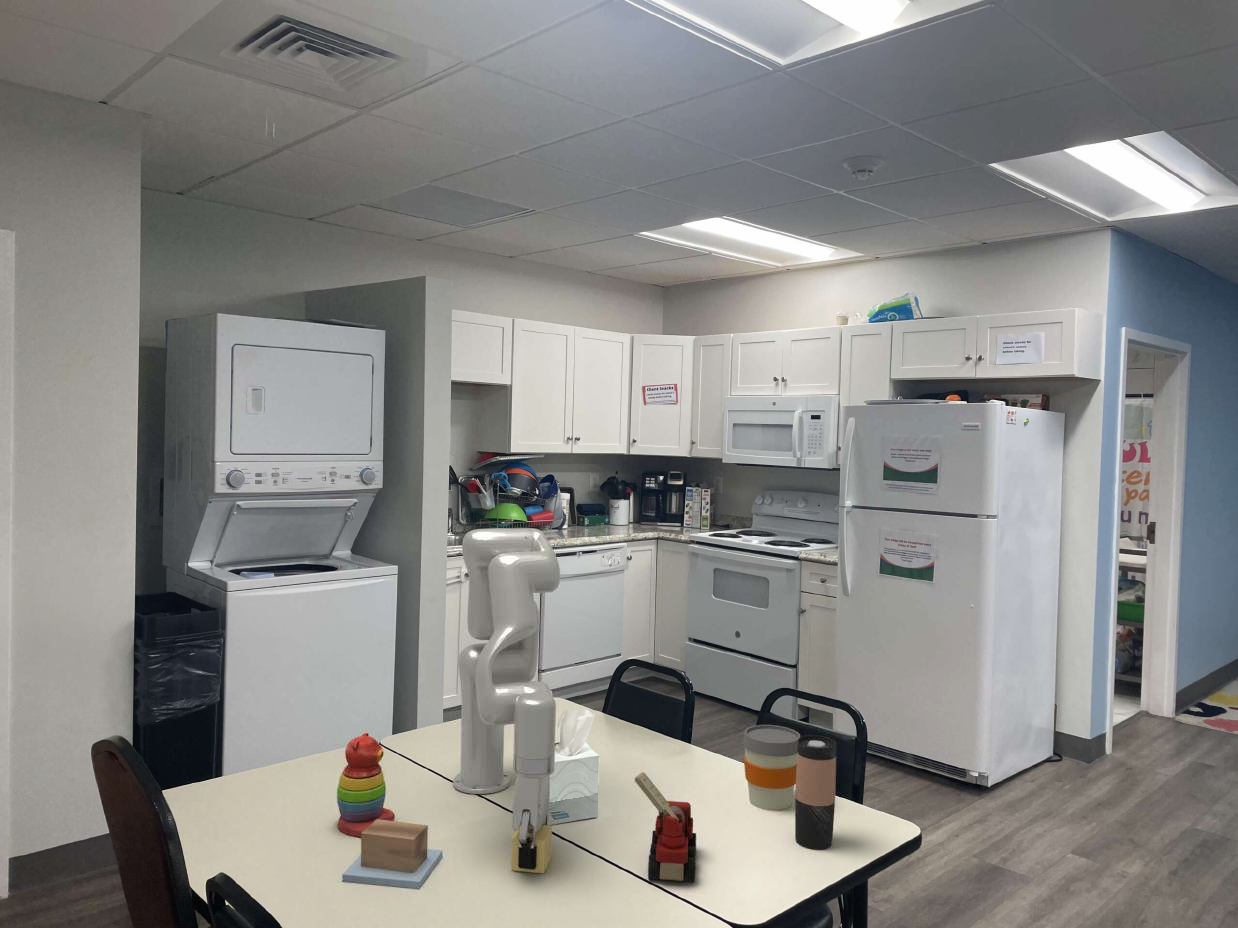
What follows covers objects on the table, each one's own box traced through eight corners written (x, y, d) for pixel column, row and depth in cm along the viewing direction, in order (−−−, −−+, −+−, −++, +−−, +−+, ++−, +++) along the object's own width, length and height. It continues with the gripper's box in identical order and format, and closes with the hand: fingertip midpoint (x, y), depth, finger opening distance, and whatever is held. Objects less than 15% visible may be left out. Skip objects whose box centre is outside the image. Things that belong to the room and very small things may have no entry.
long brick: (376, 850, 167) (377, 818, 167) (427, 857, 165) (427, 825, 165) (360, 865, 161) (361, 832, 161) (413, 872, 159) (413, 839, 159)
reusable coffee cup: (774, 818, 188) (776, 747, 188) (729, 799, 198) (731, 731, 197) (811, 803, 196) (813, 735, 196) (766, 785, 206) (768, 720, 205)
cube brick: (519, 854, 169) (520, 822, 169) (551, 857, 168) (551, 825, 168) (511, 869, 163) (512, 837, 163) (543, 873, 162) (544, 840, 162)
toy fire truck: (696, 848, 174) (699, 757, 174) (694, 888, 159) (697, 789, 158) (637, 844, 175) (640, 754, 175) (629, 883, 160) (632, 785, 159)
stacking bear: (373, 839, 174) (375, 748, 174) (325, 833, 176) (326, 743, 176) (398, 816, 185) (399, 730, 184) (352, 811, 187) (353, 725, 186)
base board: (370, 849, 170) (370, 843, 170) (442, 856, 168) (442, 850, 168) (342, 880, 158) (342, 874, 158) (419, 888, 156) (419, 881, 156)
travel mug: (835, 836, 181) (838, 737, 180) (831, 853, 173) (834, 750, 173) (796, 830, 183) (799, 732, 182) (791, 846, 176) (794, 744, 175)
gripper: (525, 744, 174) (523, 836, 175) (501, 778, 157) (498, 880, 158) (563, 747, 173) (561, 840, 174) (543, 782, 156) (541, 884, 157)
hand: (531, 858), depth 166 cm, fingers closed on cube brick, 6 cm apart
